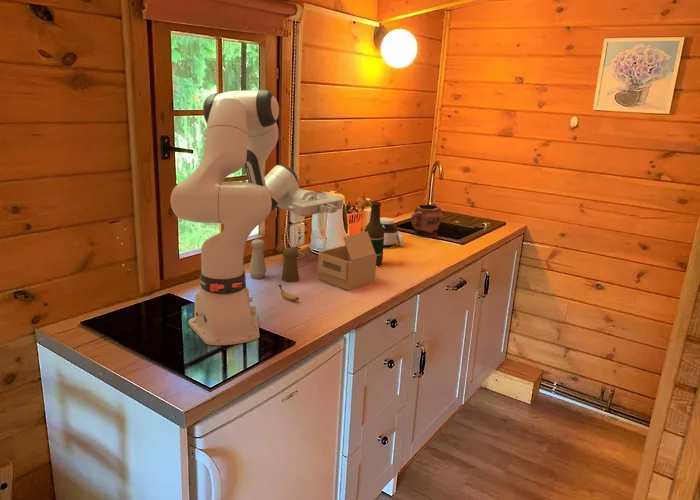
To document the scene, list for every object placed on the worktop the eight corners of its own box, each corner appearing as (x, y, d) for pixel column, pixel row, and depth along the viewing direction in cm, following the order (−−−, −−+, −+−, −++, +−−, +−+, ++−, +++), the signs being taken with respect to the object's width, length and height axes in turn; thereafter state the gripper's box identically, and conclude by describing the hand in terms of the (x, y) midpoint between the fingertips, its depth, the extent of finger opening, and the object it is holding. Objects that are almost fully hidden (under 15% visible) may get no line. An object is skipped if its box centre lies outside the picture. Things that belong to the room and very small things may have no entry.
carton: (314, 280, 188) (315, 252, 186) (344, 270, 200) (346, 244, 197) (346, 291, 179) (347, 262, 176) (376, 281, 190) (377, 253, 188)
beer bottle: (374, 259, 214) (378, 199, 207) (386, 265, 208) (390, 203, 201) (357, 262, 210) (361, 200, 203) (369, 268, 204) (373, 204, 197)
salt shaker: (262, 280, 185) (262, 243, 182) (246, 278, 186) (246, 241, 183) (268, 274, 191) (268, 238, 187) (252, 273, 192) (252, 237, 188)
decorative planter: (422, 242, 242) (425, 211, 238) (400, 236, 250) (402, 206, 246) (447, 235, 257) (450, 206, 253) (426, 229, 264) (428, 201, 261)
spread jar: (369, 243, 236) (371, 217, 232) (389, 240, 242) (391, 215, 239) (387, 251, 227) (389, 223, 223) (408, 247, 233) (410, 221, 230)
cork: (282, 282, 185) (282, 250, 182) (280, 276, 190) (280, 245, 187) (300, 281, 186) (300, 250, 183) (297, 275, 192) (298, 245, 189)
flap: (342, 237, 178) (343, 237, 178) (366, 231, 187) (367, 231, 187) (350, 260, 178) (351, 260, 177) (374, 253, 186) (375, 253, 186)
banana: (277, 297, 172) (277, 285, 171) (281, 295, 173) (281, 284, 172) (296, 304, 167) (297, 292, 166) (300, 302, 169) (300, 290, 167)
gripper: (284, 197, 187) (312, 205, 179) (325, 190, 202) (354, 197, 193) (283, 215, 189) (312, 223, 180) (325, 207, 204) (353, 214, 195)
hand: (334, 210), depth 187 cm, fingers closed
